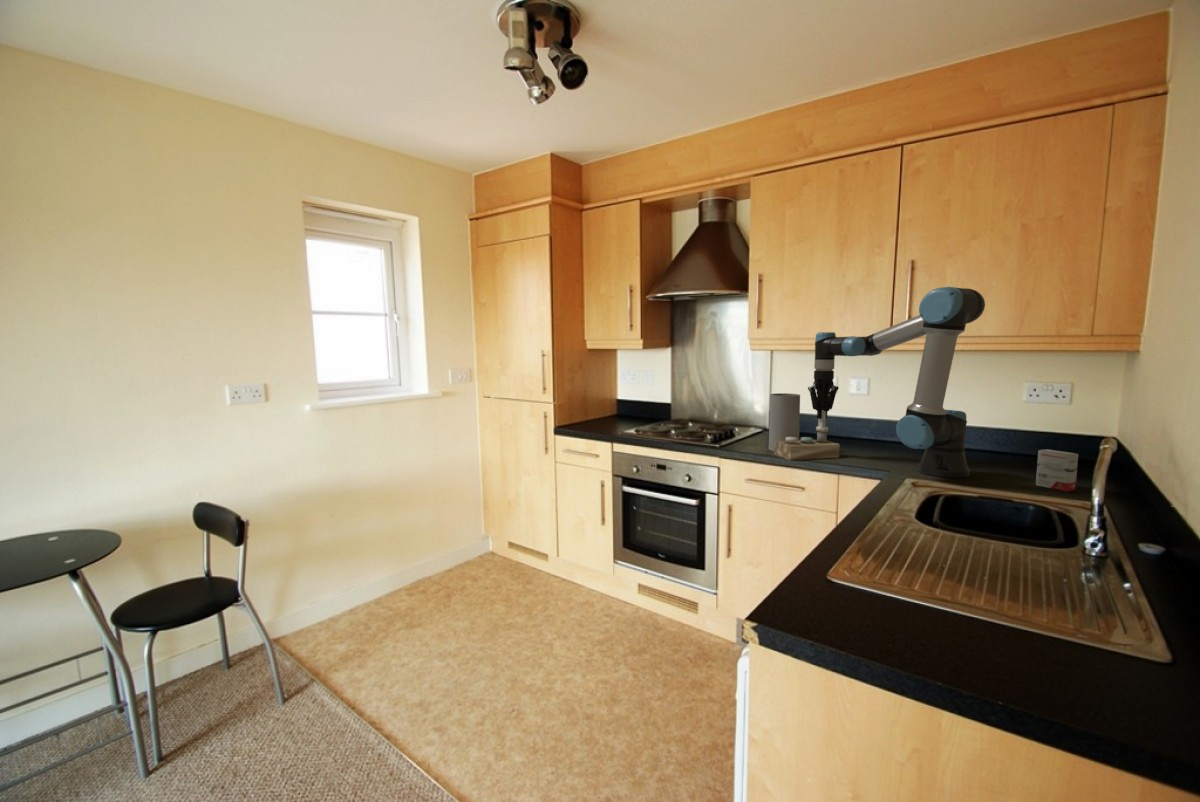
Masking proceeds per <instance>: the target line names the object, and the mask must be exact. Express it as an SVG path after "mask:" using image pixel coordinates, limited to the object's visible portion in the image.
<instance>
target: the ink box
mask: <svg viewBox="0 0 1200 802" xmlns="http://www.w3.org/2000/svg"><path fill="white" fill-rule="evenodd" d="M1078 461H1079V453H1076V452H1075V453H1074V452H1068V451H1061V450H1054V449H1040V450H1039V449H1038V452H1037V465H1036V466H1037V467H1036V478H1035V486H1039V487H1044V488H1047V489H1053V490H1058V491H1062V492H1071V491H1075V490H1076V484H1077V474H1078Z"/></svg>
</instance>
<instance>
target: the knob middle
mask: <svg viewBox="0 0 1200 802" xmlns="http://www.w3.org/2000/svg"><path fill="white" fill-rule="evenodd" d="M800 440H801V442H802V443H803V444H811V442H813V437H810V436H803V437H802V436H801V437H800Z"/></svg>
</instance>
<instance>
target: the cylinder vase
mask: <svg viewBox="0 0 1200 802" xmlns="http://www.w3.org/2000/svg"><path fill="white" fill-rule="evenodd" d="M800 409H801V394H800V393H799V394H798V393H787V392H786V393H783V392H782V393H776V392H775V393H770V394H769V414H768V415H769V418H768V419H769V421H768V429H769V430H768V450H769V451H772V452H775V441H785V439H786V437H796V438H797V440H800V420H801V419H800V413H801V410H800Z"/></svg>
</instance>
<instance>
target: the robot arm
mask: <svg viewBox="0 0 1200 802" xmlns="http://www.w3.org/2000/svg"><path fill="white" fill-rule="evenodd" d="M985 302H986V301H985V299H984V297H983V295H982V294H981V293H980V292H979V291H977V290H975V289H972V288H962V287H955V286H944V287H937V288H935V289H931V290H930V291H929V292H928V293H926V294H925V295H924V296H923V297H922V299H921V301H920V303H919V306H918V313H919V315H917V316H916V315H915V316H914V317H911V318H909V319H906V320H904V321H902V322H901V321H900V322H899V323H897V324H893V325H892V326H889V327H887V328H883V329H882V330H880V331H877V332H875V333H872V334H869V335H867V336H856V335H855V336H854V335H853V336H836V335H837V334H836V333H835V332H834V331H833V332H832V331H831V332H830V331H829V332H828V331H827V332H826V331H825V332H821V331H820V332H817V333H816V334H815V341H814V365H813V367H814V369H815V370H814V371H813V379H814V381H813V382H812V383H813V384H812V385H811V386H808V387H807V390H808V391H809V396H810V400H811V405H812V409H813V410H815V411H816V412H817V413H816V418H817V420H818V422H817V426H820V427H826V419H828V412H830V410H832V409H833V406H834V403H835V399H836V398H835V397H836V395H837V392H838V390H839V388H840V387H839V386H837V385H835V383H834V379H835V372H834V369H835V357H839V356H840V357H841V356H842V357H858V356H863V357H864V356H867V357H868V356H871V357H872V356H876V355H879V354H881V353H882V352H883V351H886V350H888V349H891V348H894V347H896V346H899V345H902V344H904V343H907V342H911V341H913V340H915V339H919V338H921V337H923V336H925V341H924V347H923V351H922V356H921V362H920V364H919V365H920V367H919V370H918V371H919V372H918V376H917V381H916V386H915V391H914V397H913V402H912V403H911V404H908V405H907V407H906V411H905V415H904V416H903V417H901V418H900V419H899V420H898V421H897V423H896V425H895V431H896V436H897V438H898V439H899V440H900V441H901V443H902V444H903V445H904V446H906V447H907V448H910V449H915V450H918V449H920V450H924V452H923V454H922V457H921V459H920V462H919V463H918V468H917V469H918V471H919V472H920V473H922V474H925V475H929V476H933V477H934V476H935V477H941V478H950V479H958V478H959V479H962V478H968V477H969V476H970V467H969V466H968V462H967V458H966V454H965V451H966V450H965V448H966V435H967V423H968V421H967V413H966V412H965V411H963V410H956V409H955V410H953V409H945V408H944V402H945V397H946V393H947V388H948V383H949V379H950V378H949V377H950V374H951V373H950V372H951V369H952V364H953V360H954V355H955V351H956V345H957V341H958V337H959V335H961V334H963V333H964V332H965V330H966V326H967V324H970V323H972V322H974V321H977V320H978V319H979V318H980V317H981V316H982V314H983V313H984V312H985V307H986V303H985Z"/></svg>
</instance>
